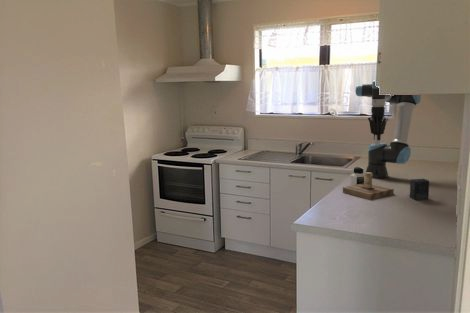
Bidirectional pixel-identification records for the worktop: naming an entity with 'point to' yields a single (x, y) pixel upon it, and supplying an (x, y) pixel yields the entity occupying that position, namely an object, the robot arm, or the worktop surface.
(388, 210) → the worktop surface
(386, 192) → the board
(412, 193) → the box
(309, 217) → the worktop surface
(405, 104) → the robot arm
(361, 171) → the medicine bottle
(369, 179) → the peg
